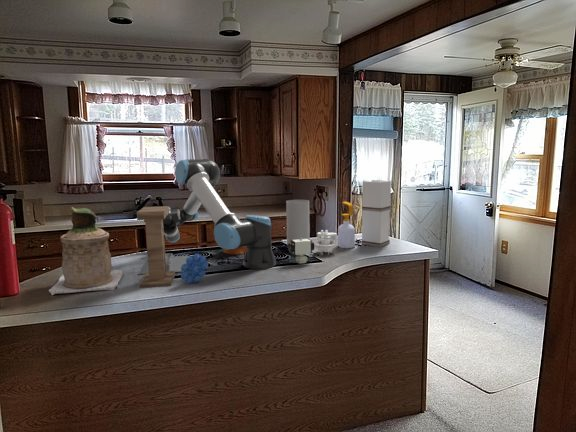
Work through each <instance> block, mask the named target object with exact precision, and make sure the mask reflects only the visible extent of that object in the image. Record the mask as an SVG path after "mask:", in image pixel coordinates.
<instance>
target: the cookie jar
mask: <svg viewBox="0 0 576 432" xmlns="http://www.w3.org/2000/svg"><path fill="white" fill-rule="evenodd" d="M70 209H71V211H72V213H71V218H70V220H71V221H70V222H71V224H72V228H71V229H69V230H68V232H66V233H65V234H63V235H61V236H60V237H59V239H60V242H61V247H62V251H61V252H62V253H61V254H62V262H61V270H62V274H61V275H60V277H59V279H58V281H57V282H56V283H55V284H54V285H53V286H52V287H50V289H48V292H49V293H50V294H51V296H52V295H56V294H71V293H81V292H91V291H92V292H93V291H113V290H114V291H115V289H116V287H118V286H119V283H120V280H121V279H122V277H123V270H121V269H113V270H112V268H113V265H112V254H111V252H110V247H109V238H110V233H109V232H108V231H106V230H104V229H102V228H99V227H97V226H96V223H97V219H98V216H97V215H96V213H95V212H93V211H92V210H91V209H90V208H88V207H82V208H75V207H70Z"/></svg>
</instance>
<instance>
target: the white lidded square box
mask: <svg viewBox="0 0 576 432" xmlns="http://www.w3.org/2000/svg"><path fill="white" fill-rule="evenodd" d="M391 187H392V180H380V179H379V180H378V179H377V180H375V179H371V181H368V180H367V181H365V180H363V181H362V187H361V188H362V192H361V193H362V195H361V196H362V199H361V201H362V205H361V206H362V207H361V210H362V211H361V213H362V214H361V215H362V216H361V220H362V221H361V225H362V226H361V245H364V246H372V247H379V248H381V247H384V246H387V245H388V244H390V243H391V240H390V236H389V235H390V213H391V196H392V193H391V191H392V188H391Z"/></svg>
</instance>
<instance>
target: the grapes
mask: <svg viewBox="0 0 576 432" xmlns="http://www.w3.org/2000/svg"><path fill="white" fill-rule="evenodd" d="M206 261H207V257H206V256H205V255H200V254H199V253H195V254H193V256H190V257H188V258H187V259H186V263H187V264H183V265H182V267H181V270H182V271H184V272H181V275H180V277H181V279H182V280H185V283H186V284H191V283H193V284H195V283H198V282H199V281H200V278H204V277H205V275H206V269H208V267H209V263H208V261H207V262H206Z"/></svg>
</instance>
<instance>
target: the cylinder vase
mask: <svg viewBox="0 0 576 432" xmlns="http://www.w3.org/2000/svg"><path fill="white" fill-rule="evenodd" d="M285 203H286V204H285V207H286V210H285V211H286V245H287V247H288V244H289V243H290V242H291V240H297V239H300V238H302V239H310V240H311V238H310V234H311V233H310V229H311V228H310V200H308V199H289V200H286V202H285Z"/></svg>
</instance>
